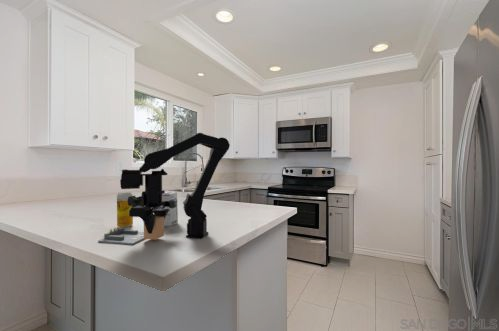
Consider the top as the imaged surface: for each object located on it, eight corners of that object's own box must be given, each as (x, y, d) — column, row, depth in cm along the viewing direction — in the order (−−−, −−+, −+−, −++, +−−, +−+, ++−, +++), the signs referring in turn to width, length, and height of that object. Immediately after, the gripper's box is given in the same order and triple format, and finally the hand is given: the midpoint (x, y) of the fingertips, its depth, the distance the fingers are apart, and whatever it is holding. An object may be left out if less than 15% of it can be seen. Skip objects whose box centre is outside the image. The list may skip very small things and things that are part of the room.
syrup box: (171, 226, 103) (171, 193, 103) (159, 225, 104) (159, 193, 104) (177, 223, 109) (177, 191, 108) (166, 222, 110) (166, 191, 110)
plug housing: (164, 235, 86) (163, 216, 86) (156, 239, 82) (156, 219, 82) (151, 234, 87) (151, 216, 87) (143, 238, 83) (143, 218, 83)
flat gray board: (154, 234, 91) (154, 225, 91) (133, 244, 79) (132, 234, 79) (123, 232, 94) (123, 223, 94) (98, 242, 82) (98, 232, 82)
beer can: (113, 227, 101) (113, 192, 101) (126, 224, 107) (125, 191, 107) (124, 228, 99) (123, 193, 99) (135, 225, 105) (135, 191, 105)
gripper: (150, 185, 95) (150, 223, 95) (114, 190, 77) (114, 238, 77) (175, 185, 93) (175, 225, 93) (144, 191, 74) (144, 240, 75)
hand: (154, 231), depth 84 cm, fingers closed on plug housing, 4 cm apart
